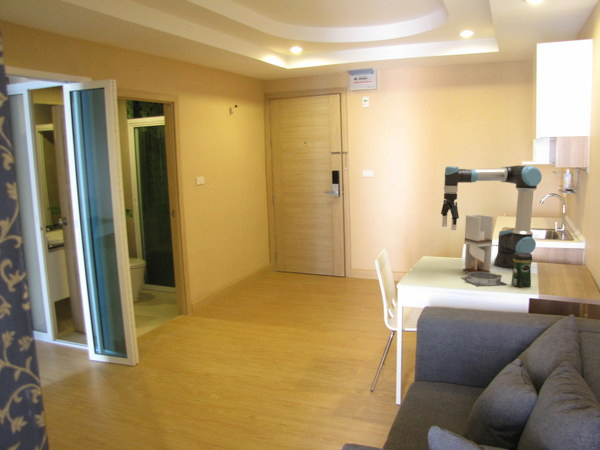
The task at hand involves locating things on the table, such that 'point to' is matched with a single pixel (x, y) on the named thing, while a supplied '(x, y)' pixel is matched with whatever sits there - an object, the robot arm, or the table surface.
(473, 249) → the toilet paper holder
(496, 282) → the duct collar
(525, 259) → the coffee jar
